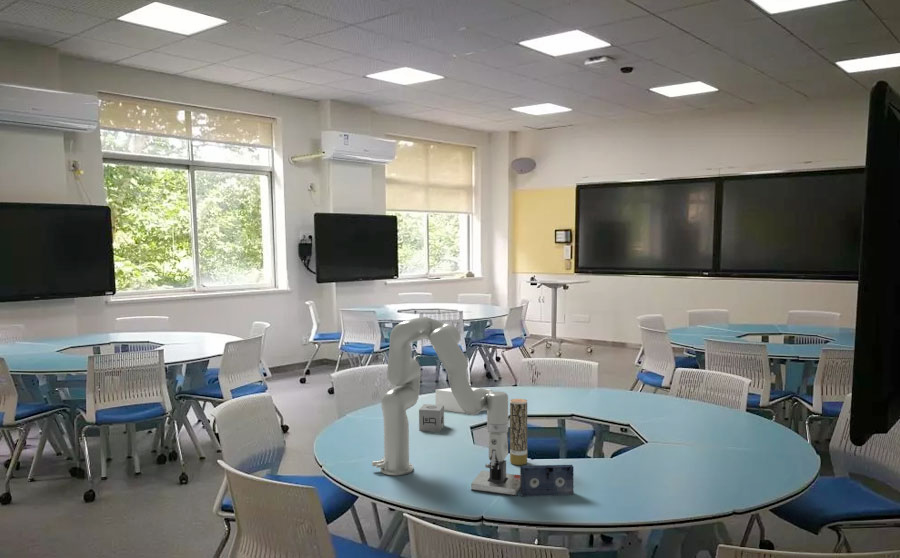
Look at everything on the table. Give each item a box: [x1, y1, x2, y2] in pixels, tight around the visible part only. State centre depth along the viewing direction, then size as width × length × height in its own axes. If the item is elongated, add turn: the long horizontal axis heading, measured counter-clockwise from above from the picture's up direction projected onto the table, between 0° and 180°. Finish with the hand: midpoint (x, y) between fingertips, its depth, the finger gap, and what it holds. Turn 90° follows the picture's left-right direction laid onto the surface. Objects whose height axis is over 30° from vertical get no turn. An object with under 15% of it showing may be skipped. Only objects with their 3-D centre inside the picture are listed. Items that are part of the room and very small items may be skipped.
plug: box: [485, 459, 507, 483], centre depth 214 cm, size 7×4×7 cm, turn 70°
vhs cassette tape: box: [519, 464, 575, 497], centre depth 206 cm, size 18×3×10 cm, turn 92°
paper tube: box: [509, 398, 528, 466], centre depth 236 cm, size 7×7×25 cm
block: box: [435, 386, 493, 414], centre depth 317 cm, size 15×30×11 cm, turn 88°
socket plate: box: [470, 470, 520, 497], centre depth 213 cm, size 16×13×3 cm
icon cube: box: [418, 403, 445, 433], centre depth 284 cm, size 10×10×10 cm
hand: (497, 476), depth 213 cm, fingers closed on plug, 3 cm apart
